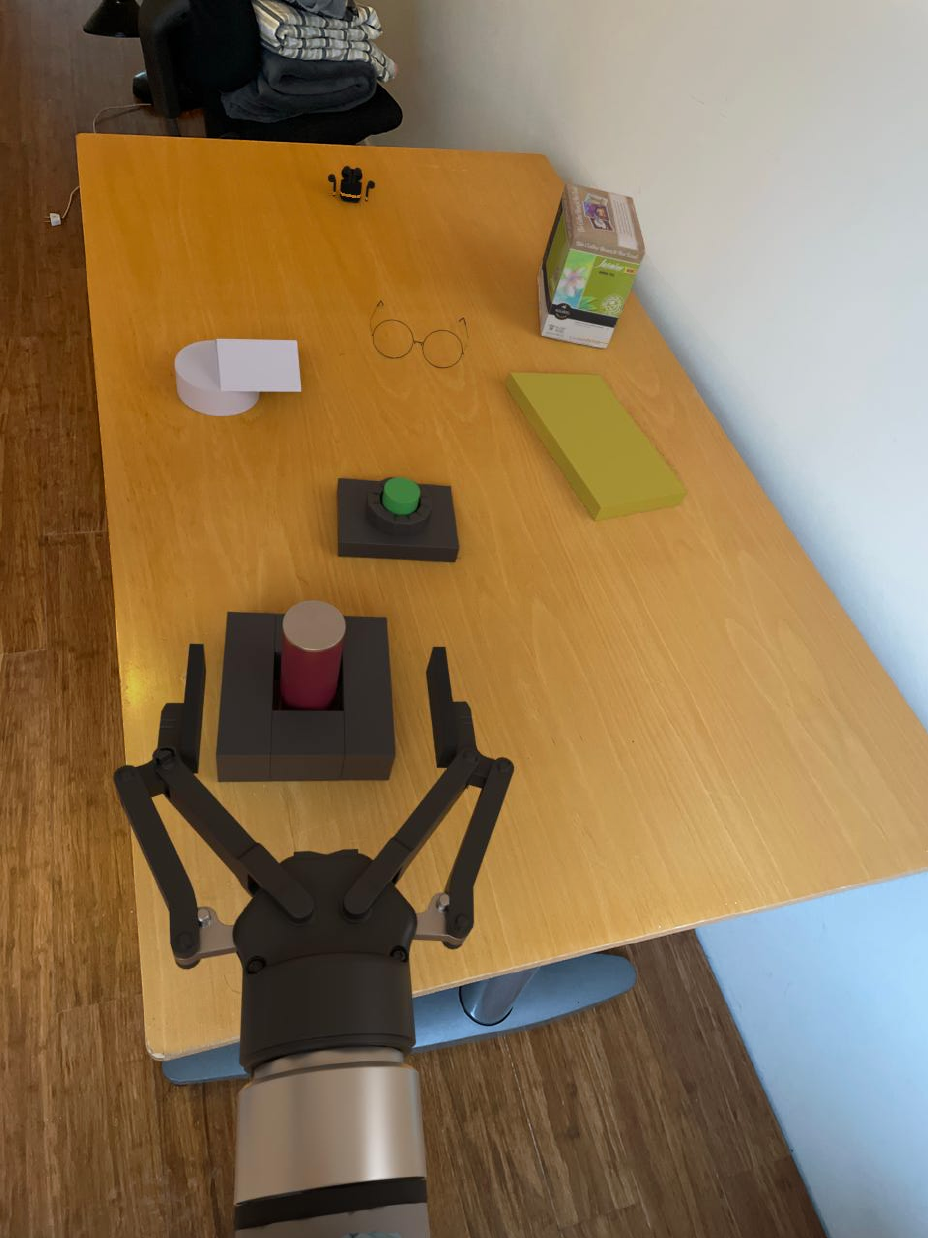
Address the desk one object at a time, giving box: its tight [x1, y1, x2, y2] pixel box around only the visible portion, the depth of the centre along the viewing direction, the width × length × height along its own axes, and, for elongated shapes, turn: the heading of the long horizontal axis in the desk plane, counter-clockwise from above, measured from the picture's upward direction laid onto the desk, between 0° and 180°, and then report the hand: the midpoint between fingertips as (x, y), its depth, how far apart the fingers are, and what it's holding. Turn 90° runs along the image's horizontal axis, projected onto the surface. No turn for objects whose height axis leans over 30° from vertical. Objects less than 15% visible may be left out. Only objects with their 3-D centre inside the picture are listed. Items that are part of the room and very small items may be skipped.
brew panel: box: [335, 476, 460, 563], centre depth 83 cm, size 12×9×4 cm
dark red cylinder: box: [278, 599, 346, 711], centre depth 65 cm, size 5×5×12 cm
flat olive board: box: [505, 371, 688, 522], centre depth 99 cm, size 12×2×24 cm
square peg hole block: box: [215, 611, 397, 783], centre depth 68 cm, size 14×14×4 cm
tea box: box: [536, 182, 646, 349], centre depth 111 cm, size 15×10×15 cm, turn 179°
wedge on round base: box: [174, 338, 302, 417], centre depth 90 cm, size 9×7×13 cm
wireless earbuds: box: [327, 165, 376, 204], centre depth 122 cm, size 7×2×5 cm, turn 95°
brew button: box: [382, 476, 420, 515], centre depth 81 cm, size 4×4×2 cm
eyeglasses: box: [369, 300, 469, 369], centre depth 104 cm, size 11×13×5 cm
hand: (320, 658), depth 47 cm, fingers open, 13 cm apart
